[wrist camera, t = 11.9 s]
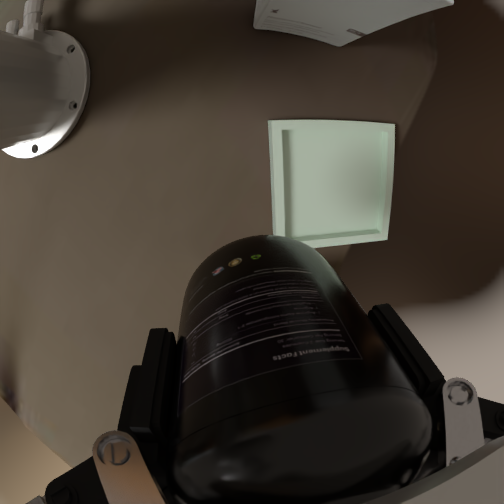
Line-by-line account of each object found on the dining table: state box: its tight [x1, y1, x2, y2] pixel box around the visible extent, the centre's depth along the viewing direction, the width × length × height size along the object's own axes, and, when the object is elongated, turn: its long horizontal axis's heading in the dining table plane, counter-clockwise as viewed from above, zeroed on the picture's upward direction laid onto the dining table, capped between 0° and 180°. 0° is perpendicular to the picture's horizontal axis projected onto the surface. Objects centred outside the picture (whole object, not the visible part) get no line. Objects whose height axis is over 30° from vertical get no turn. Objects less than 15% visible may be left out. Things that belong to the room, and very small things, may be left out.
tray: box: [268, 120, 395, 248], centre depth 25 cm, size 12×12×2 cm
